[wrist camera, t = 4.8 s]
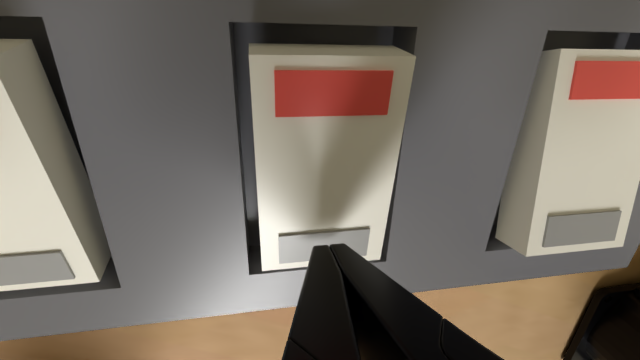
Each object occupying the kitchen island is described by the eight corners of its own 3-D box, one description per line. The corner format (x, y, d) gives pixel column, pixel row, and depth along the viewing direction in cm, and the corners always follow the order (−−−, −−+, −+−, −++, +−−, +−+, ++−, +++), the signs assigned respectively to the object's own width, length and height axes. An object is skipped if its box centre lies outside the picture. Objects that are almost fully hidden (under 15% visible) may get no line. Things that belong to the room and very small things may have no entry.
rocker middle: (366, 231, 12) (380, 261, 10) (260, 239, 11) (262, 273, 10) (393, 45, 9) (417, 56, 7) (248, 43, 8) (248, 55, 7)
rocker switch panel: (656, 212, 18) (743, 253, 14) (-37, 271, 12) (-135, 356, 9) (769, -7, 13) (926, -14, 10) (-214, -61, 8) (-508, -111, 5)
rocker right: (583, 229, 12) (625, 247, 11) (495, 237, 12) (528, 258, 10) (620, 55, 11) (675, 50, 9) (521, 53, 10) (563, 48, 9)
